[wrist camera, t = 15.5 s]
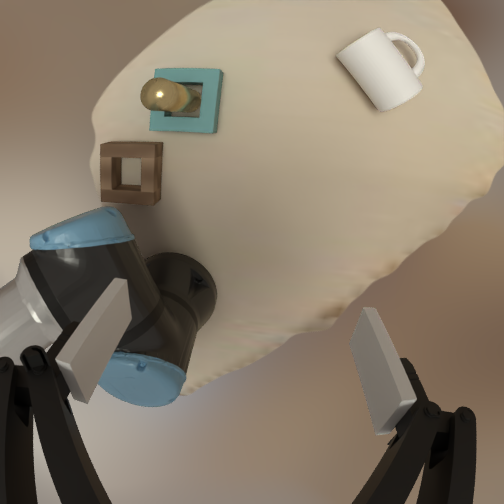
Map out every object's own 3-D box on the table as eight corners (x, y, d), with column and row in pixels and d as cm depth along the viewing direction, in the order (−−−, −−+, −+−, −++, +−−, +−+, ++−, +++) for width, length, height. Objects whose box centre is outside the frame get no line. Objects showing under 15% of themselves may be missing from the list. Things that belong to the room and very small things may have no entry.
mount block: (160, 199, 45) (153, 205, 42) (111, 195, 45) (101, 201, 41) (163, 142, 41) (155, 144, 38) (111, 141, 41) (100, 144, 38)
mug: (371, 112, 38) (393, 112, 31) (329, 59, 35) (343, 47, 28) (422, 75, 34) (449, 71, 27) (385, 24, 31) (406, 11, 24)
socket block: (216, 132, 40) (212, 133, 37) (157, 129, 40) (149, 130, 37) (223, 73, 36) (219, 69, 33) (163, 72, 36) (155, 68, 33)
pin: (199, 113, 39) (171, 111, 26) (176, 112, 39) (139, 111, 26) (202, 89, 37) (175, 77, 25) (178, 88, 37) (142, 78, 25)
